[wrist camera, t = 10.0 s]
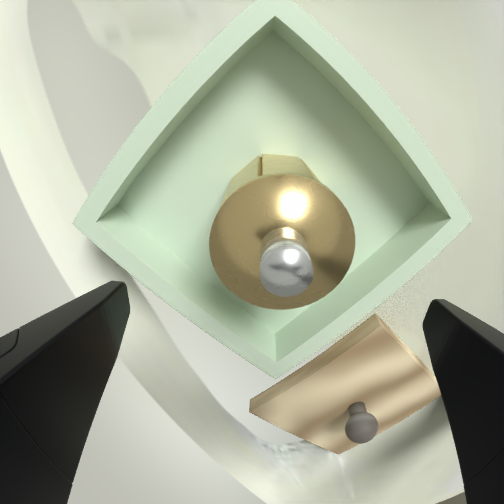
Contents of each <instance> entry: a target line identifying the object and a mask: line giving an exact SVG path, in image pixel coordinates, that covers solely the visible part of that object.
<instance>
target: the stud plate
mask: <svg viewBox="0 0 504 504" xmlns="http://www.w3.org/2000/svg"><path fill="white" fill-rule="evenodd" d="M440 395H441V393H440V389H439V386H438V383H437V380H436V377H435V376H434V375H433V374H432V373H431V371H430V370H429V369H428V368H427V367H426V366H425V365H424V364H423V363H422V362H421V361H420V360H419V359H418V358H417V356H416V355H415V354H414V353H413V352H412V351H411V350H410V349H409V348H408V347H407V346H406V345H405V344H404V343H403V342H402V341H401V340H400V339H399V338H398V336H397V335H396V334H395V333H394V332H393V331H392V330H391V329H390V328H389V327H388V326H387V325H386V324H385V323H384V322H383V321H382V320H381V319H380V318H379V317H378V316H377V315H376V314H374V315H373V316H372V317H370V318H369V319H368V320H366V321H365V322H364V323H363V324H361V325H360V326H359V327H357V328H356V329H355V330H353V331H352V332H351V333H349V334H348V335H347V336H345V337H344V338H343V339H341V340H340V341H338V342H337V343H336V344H334V345H333V346H331V347H330V348H329V349H327V350H326V351H324V352H323V353H322V354H320V355H319V356H317V357H316V358H314V359H313V360H311V361H310V362H309V363H307V364H306V365H304V366H303V367H301V368H300V369H298V370H297V371H295V372H294V373H292V374H291V375H289V376H287V377H286V378H285V379H283V380H281V381H280V382H278V383H277V384H275V385H273V386H272V387H270V388H269V389H267V390H265V391H264V392H262V393H260V394H259V395H257V396H255V397H254V398H252V399H250V412H251V413H252V414H254V415H256V416H258V417H260V418H262V419H263V420H266V421H267V422H269V423H271V424H273V425H275V426H277V427H280V428H281V429H283V430H285V431H287V432H289V433H292V434H294V435H296V436H298V437H300V438H302V439H304V440H306V441H309V442H311V443H313V444H315V445H318V446H320V447H322V448H324V449H327V450H329V451H331V452H334V453H336V454H341V453H343V452H345V451H347V450H349V449H351V448H353V447H355V446H357V445H359V444H361V443H366V442H368V441H370V440H371V439H373V438H374V436H376V435H378V434H379V433H381V432H383V431H385V430H387V429H388V428H390V427H392V426H393V425H395V424H397V423H399V422H400V421H402V420H404V419H405V418H407V417H408V416H410V415H412V414H413V413H415V412H416V411H418V410H419V409H421V408H422V407H424V406H425V405H427V404H428V403H430V402H431V401H433V400H434V399H436V398H437V397H439V396H440Z"/></svg>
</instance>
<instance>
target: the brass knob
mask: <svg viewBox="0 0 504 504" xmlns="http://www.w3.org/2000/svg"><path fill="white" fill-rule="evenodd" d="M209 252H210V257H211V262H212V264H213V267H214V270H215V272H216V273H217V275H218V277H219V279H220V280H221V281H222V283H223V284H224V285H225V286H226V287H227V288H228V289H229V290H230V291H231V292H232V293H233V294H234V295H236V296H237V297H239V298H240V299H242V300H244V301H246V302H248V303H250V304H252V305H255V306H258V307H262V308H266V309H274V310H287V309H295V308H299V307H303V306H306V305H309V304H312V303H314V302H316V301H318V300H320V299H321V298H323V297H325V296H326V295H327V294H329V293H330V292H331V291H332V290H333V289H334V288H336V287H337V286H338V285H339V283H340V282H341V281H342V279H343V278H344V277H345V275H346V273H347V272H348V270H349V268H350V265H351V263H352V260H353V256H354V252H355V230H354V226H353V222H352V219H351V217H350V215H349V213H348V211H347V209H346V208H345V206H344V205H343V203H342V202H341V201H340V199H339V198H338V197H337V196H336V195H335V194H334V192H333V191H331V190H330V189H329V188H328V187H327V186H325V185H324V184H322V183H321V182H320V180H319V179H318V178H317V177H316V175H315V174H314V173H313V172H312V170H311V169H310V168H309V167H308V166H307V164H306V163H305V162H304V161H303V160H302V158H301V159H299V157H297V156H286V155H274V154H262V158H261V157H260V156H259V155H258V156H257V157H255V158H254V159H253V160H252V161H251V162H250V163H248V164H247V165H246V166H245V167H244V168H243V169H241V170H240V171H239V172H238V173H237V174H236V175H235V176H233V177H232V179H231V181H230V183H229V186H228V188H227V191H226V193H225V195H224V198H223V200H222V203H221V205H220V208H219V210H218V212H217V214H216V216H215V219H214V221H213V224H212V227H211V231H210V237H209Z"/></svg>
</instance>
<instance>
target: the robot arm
mask: <svg viewBox="0 0 504 504" xmlns="http://www.w3.org/2000/svg"><path fill="white" fill-rule="evenodd" d="M129 314H130V304H129V298H128V292H127V286H126V284H125V283H124V282H120V281H110V282H108V283H106V284H104V285H102V286H100V287H98V288H96V289H94V290H92V291H90V292H88V293H86V294H84V295H82V296H80V297H78V298H76V299H74V300H72V301H70V302H68V303H66V304H64V305H62V306H60V307H58V308H56V309H54V310H52V311H50V312H48V313H46V314H44V315H43V316H41V317H39V318H37V319H35V320H33V321H31V322H29V323H27V324H25V325H23V326H21V327H20V328H19V329H15V330H14V331H12V332H10V333H8V334H6V335H4V336H2V337H0V504H67V502H68V498H69V495H70V491H71V488H72V482H73V480H74V477H75V474H76V470H77V467H78V464H79V461H80V458H81V454H82V451H83V448H84V445H85V442H86V439H87V436H88V433H89V430H90V428H91V425H92V422H93V419H94V416H95V414H96V411H97V408H98V405H99V403H100V400H101V397H102V394H103V392H104V389H105V387H106V384H107V381H108V379H109V376H110V374H111V371H112V369H113V366H114V363H115V361H116V358H117V355H118V352H119V349H120V345H121V342H122V338H123V334H124V331H125V328H126V324H127V321H128V317H129ZM423 331H424V335H425V339H426V343H427V347H428V351H429V355H430V359H431V363H432V367H433V371H434V374H435V377H436V380H437V383H438V386H439V389H440V393H441V396H442V399H443V402H444V406H445V409H446V413H447V416H448V420H449V423H450V427H451V431H452V435H453V439H454V443H455V447H456V451H457V455H458V459H459V464H460V469H461V474H462V478H463V484H464V490H465V495H466V502H467V504H504V334H503V333H502V332H500V331H498V330H497V329H495V328H493V327H492V326H490V325H488V324H487V323H485V322H483V321H481V320H480V319H478V318H476V317H475V316H473V315H471V314H469V313H468V312H466V311H464V310H462V309H461V308H459V307H457V306H455V305H454V304H452V303H450V302H448V301H446V300H444V299H434V300H432V302H431V303H430V305H429V308H428V310H427V313H426V316H425V318H424V321H423Z"/></svg>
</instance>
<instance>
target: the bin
mask: <svg viewBox="0 0 504 504" xmlns="http://www.w3.org/2000/svg"><path fill="white" fill-rule="evenodd" d="M262 154H274V155H286V156H297V157H299V159H301V158H302V160H303V161H304V162H305V163H306V164H307V166H308V167H309V168H310V169H311V170H312V172H313V173H314V174H315V175H316V177H317V178H318V179H319V180H320V182H321V183H322V184H324V185H325V186H327V187H328V188H329V189H330V190H331V191H333V192H334V194H335V195H336V196H337V197H338V198H339V199H340V201H341V202H342V203H343V205H344V206H345V208H346V209H347V211H348V213H349V215H350V217H351V219H352V222H353V226H354V230H355V252H354V256H353V260H352V263H351V265H350V268H349V270H348V272H347V273H346V275H345V277H344V278H343V279H342V281H341V282H340V283H339V285H338V286H337V287H336V288H334V289H333V290H332V291H331V292H330V293H329V294H327V295H326V296H325V297H323V298H321V299H320V300H318V301H316V302H314V303H312V304H309V305H306V306H303V307H299V308H295V309H287V310H274V309H266V308H262V307H258V306H255V305H252V304H250V303H248V302H246V301H244V300H242V299H240V298H239V297H237V296H236V295H234V294H233V293H232V292H231V291H230V290H229V289H228V288H227V287H226V286H225V285H224V284H223V283H222V281H221V280H220V279H219V277H218V275H217V273H216V272H215V270H214V267H213V264H212V262H211V257H210V252H209V237H210V231H211V227H212V224H213V221H214V219H215V216H216V214H217V212H218V210H219V208H220V205H221V203H222V200H223V198H224V195H225V193H226V191H227V188H228V186H229V183H230V181H231V179H232V177H233V176H235V175H236V174H237V173H238V172H239V171H240V170H241V169H243V168H244V167H245V166H246V165H247V164H248V163H250V162H251V161H252V160H253V159H254V158H255V157H257V156H258V155H259V156H260V157H261V158H262ZM472 220H473V219H472V217H471V215H470V213H469V212H468V210H467V208H466V206H465V204H464V203H463V201H462V199H461V197H460V196H459V194H458V192H457V191H456V189H455V187H454V186H453V184H452V182H451V181H450V179H449V177H448V176H447V174H446V173H445V171H444V169H443V168H442V166H441V165H440V163H439V162H438V160H437V159H436V157H435V156H434V154H433V153H432V151H431V150H430V148H429V147H428V146H427V144H426V143H425V141H424V140H423V138H422V137H421V136H420V134H419V133H418V132H417V130H416V129H415V128H414V126H413V125H412V124H411V122H410V121H409V120H408V118H407V117H406V116H405V114H404V113H403V112H402V111H401V109H400V108H399V107H398V106H397V104H396V103H395V102H394V101H393V100H392V98H391V97H390V96H389V95H388V94H387V92H386V91H385V90H384V89H383V88H382V86H381V85H380V84H379V83H378V82H377V81H376V80H375V79H374V77H373V76H372V75H371V74H370V73H369V72H368V71H367V70H366V69H365V68H364V66H363V65H362V64H361V63H360V62H359V61H358V60H357V59H356V58H355V57H354V56H353V55H352V54H351V53H350V52H349V51H348V50H347V49H346V48H345V47H344V46H343V45H342V44H341V43H340V42H339V41H338V40H337V39H336V38H335V37H334V36H333V35H332V34H331V33H329V32H328V31H327V30H326V29H325V28H324V27H323V26H322V25H321V24H320V23H319V22H317V21H316V20H315V19H314V18H313V17H312V16H311V15H309V14H308V13H307V12H306V11H305V10H303V9H302V8H301V7H300V6H299V5H297V4H296V3H295V2H294V1H293V0H256V1H255V2H254V3H252V4H251V5H250V6H249V7H248V8H247V9H245V10H244V11H243V12H242V13H241V14H240V15H239V16H238V17H236V18H235V19H234V20H233V21H232V22H231V23H230V24H229V25H228V26H227V27H226V28H225V29H223V30H222V31H221V32H220V33H219V34H218V35H217V36H216V37H215V38H214V39H213V40H212V41H211V42H210V43H209V44H208V45H207V46H206V47H205V48H204V49H203V50H202V51H201V52H200V53H199V54H198V55H197V56H196V57H195V58H194V59H193V61H192V62H191V63H190V64H189V65H188V66H187V67H186V68H185V69H184V70H183V71H182V72H181V74H180V75H179V76H178V77H177V78H176V79H175V80H174V81H173V83H172V84H171V85H170V86H169V87H168V88H167V89H166V91H165V92H164V93H163V94H162V95H161V96H160V98H159V99H158V100H157V101H156V102H155V104H154V105H153V106H152V107H151V109H150V110H149V111H148V112H147V114H146V115H145V116H144V118H143V119H142V120H141V121H140V122H139V124H138V125H137V126H136V128H135V129H134V131H133V132H132V133H131V134H130V136H129V137H128V138H127V140H126V141H125V142H124V144H123V145H122V147H121V148H120V149H119V151H118V152H117V154H116V155H115V157H114V158H113V159H112V161H111V162H110V164H109V165H108V167H107V168H106V170H105V171H104V173H103V174H102V176H101V177H100V179H99V180H98V182H97V183H96V185H95V186H94V188H93V190H92V191H91V193H90V194H89V196H88V197H87V199H86V201H85V202H84V204H83V206H82V207H81V209H80V211H79V212H78V214H77V216H76V217H75V219H74V221H73V223H72V224H73V225H74V226H75V227H76V228H77V229H78V230H80V231H81V232H82V233H83V234H84V235H85V236H86V237H87V238H88V239H90V240H91V241H92V242H93V243H94V244H95V245H96V246H98V247H99V248H100V249H101V250H102V251H103V252H105V253H106V254H107V255H108V256H109V257H110V258H112V259H113V260H114V261H115V262H116V263H117V264H119V265H120V266H121V267H122V268H123V269H125V270H126V271H127V272H128V273H130V274H131V275H132V276H133V277H134V278H136V279H137V280H138V281H139V282H141V283H142V284H143V285H145V286H146V287H147V288H148V289H149V290H151V291H152V292H153V293H155V294H156V295H157V296H158V297H160V298H161V299H162V300H164V301H165V302H166V303H168V304H169V305H170V306H171V307H173V308H174V309H176V310H177V311H178V312H179V313H181V314H182V315H183V316H185V317H186V318H187V319H189V320H190V321H191V322H193V323H194V324H195V325H197V326H198V327H200V328H201V329H202V330H204V331H205V332H206V333H208V334H209V335H211V336H212V337H213V338H215V339H216V340H218V341H219V342H221V343H222V344H224V345H225V346H227V347H228V348H229V349H231V350H232V351H234V352H235V353H237V354H238V355H240V356H241V357H242V358H244V359H246V360H247V361H248V362H250V363H251V364H253V365H254V366H256V367H258V368H259V369H261V370H262V371H264V372H265V373H267V374H268V375H270V376H272V377H273V378H275V379H277V378H278V377H280V376H281V375H283V374H285V373H286V372H287V371H289V370H291V369H292V368H294V367H295V366H297V365H298V364H300V363H301V362H303V361H304V360H305V359H307V358H308V357H310V356H311V355H312V354H314V353H316V352H317V351H318V350H319V349H321V348H323V347H324V346H325V345H327V344H328V343H330V342H331V341H332V340H334V339H335V338H336V337H338V336H339V335H340V334H342V333H343V332H345V331H346V330H347V329H349V328H350V327H351V326H352V325H354V324H355V323H356V322H358V321H359V320H360V319H362V318H363V317H364V316H365V315H367V314H368V313H369V312H371V311H372V310H373V309H374V308H376V307H377V306H378V305H379V304H380V303H382V302H383V301H384V300H385V299H387V298H388V297H389V296H390V295H391V294H393V293H394V292H395V291H396V290H397V289H399V288H400V287H401V286H402V285H403V284H405V283H406V282H407V281H408V280H409V279H410V278H411V277H413V276H414V275H415V274H416V273H417V272H418V271H419V270H421V269H422V268H423V267H424V266H425V265H426V264H427V263H428V262H429V261H431V260H432V259H433V258H434V257H435V256H436V255H437V254H438V253H439V252H440V251H441V250H442V249H443V248H445V247H446V246H447V245H448V244H449V243H450V242H451V241H452V240H453V239H454V238H455V237H456V236H457V235H458V234H459V233H460V232H461V231H462V230H463V229H464V228H465V227H466V226H467V225H468V224H469V223H470V222H471V221H472Z"/></svg>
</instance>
